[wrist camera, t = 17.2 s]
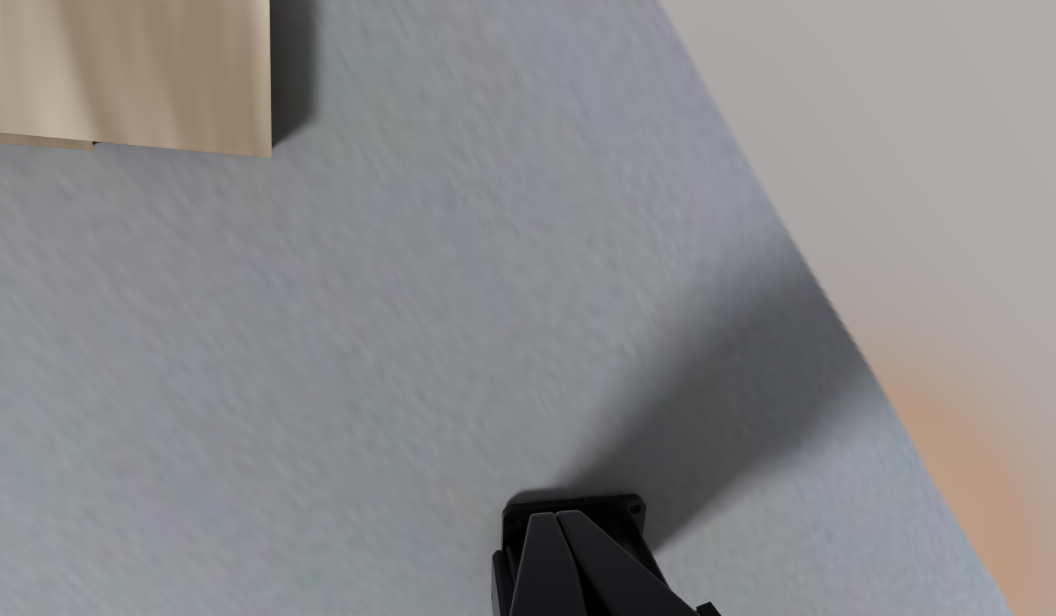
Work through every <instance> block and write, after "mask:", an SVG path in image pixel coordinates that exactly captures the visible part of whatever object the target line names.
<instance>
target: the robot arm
mask: <svg viewBox="0 0 1056 616" xmlns="http://www.w3.org/2000/svg"><path fill="white" fill-rule="evenodd" d="M633 505H637V506H635V507H634V508H631V507H632V506H633ZM645 512H646V505H645V503H644V501H643V500H642V498H641V497H640V496H639V495H636V494H630V495H618V496H606V497H594V498H582V499H570V500H558V501H546V502H534V503H522V504H512V505H509V506H507V507H506V508H505V509H504V510H503V513H502V535H501V550H497V551H496V552H495V553H494V554H493V555H492V592H491V599H492V607H493V615H494V616H721V615H720V614H719V612H718V611H717V610H716V608H715V607H714V606H713V604H712V603H711V602H708V603H705V604H703V605H700V606H697V607H696V609H697V610H695V611H694V610H693V609H692V608H691V607H690V606H689V605H687V604H686V603H685V602H684V601H683V600H682V599H681V598H679V597H678V596H677V595H676V594H675V593H674V592H673V591H671V589H670V587H669V585H668V583H667V582H666V580H665V578H664V576H663V574H662V572H661V570H660V568H659V566H658V564H657V563H656V561H655V559H654V557H653V555H652V553H651V551H650V549H649V547H648V545H647V543H646V542H645V540H644V538H643V528H644V520H645ZM513 515H518V516H517V517H516V518H514V519H512V518H510V517H511V516H513Z"/></svg>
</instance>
